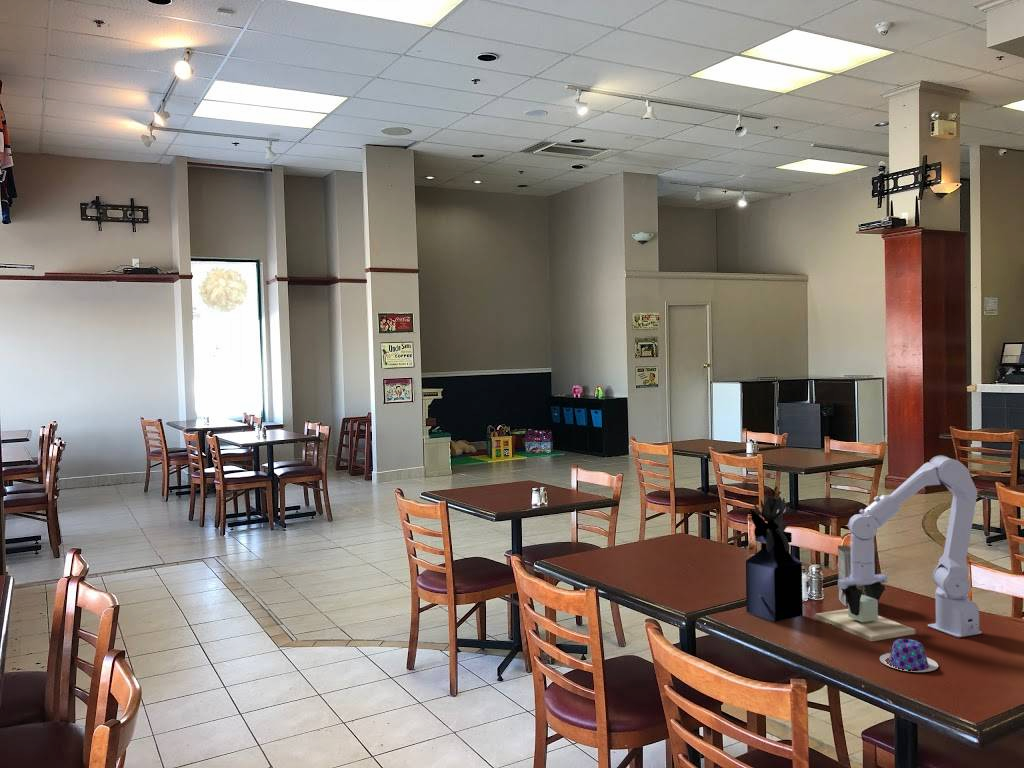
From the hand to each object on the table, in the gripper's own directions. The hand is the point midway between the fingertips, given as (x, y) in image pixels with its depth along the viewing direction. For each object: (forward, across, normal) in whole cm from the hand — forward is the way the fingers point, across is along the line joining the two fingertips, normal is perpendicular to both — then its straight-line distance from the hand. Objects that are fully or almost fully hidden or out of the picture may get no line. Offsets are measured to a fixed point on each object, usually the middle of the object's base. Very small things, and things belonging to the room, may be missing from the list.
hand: (863, 612), depth 208 cm
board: (+3, 0, 0) cm, 3 cm away
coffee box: (+4, -13, -16) cm, 21 cm away
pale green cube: (+1, 0, 0) cm, 1 cm away
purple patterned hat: (+4, +10, +25) cm, 27 cm away
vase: (+4, +15, -17) cm, 23 cm away
